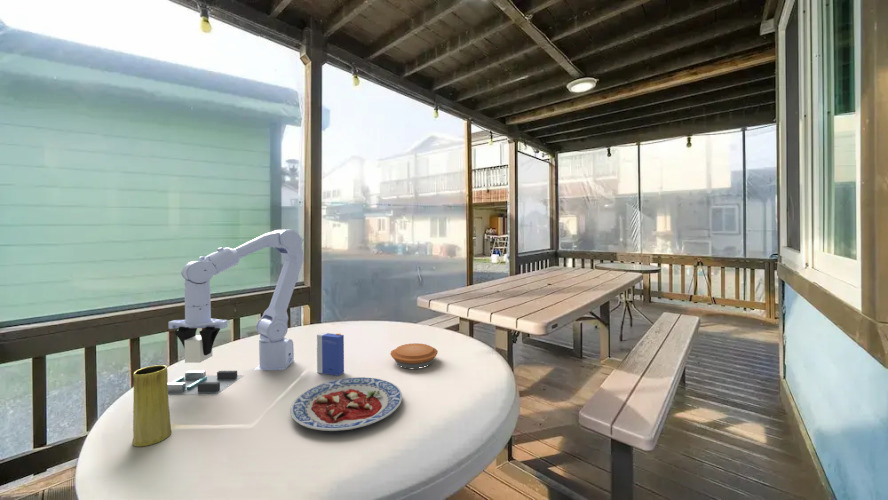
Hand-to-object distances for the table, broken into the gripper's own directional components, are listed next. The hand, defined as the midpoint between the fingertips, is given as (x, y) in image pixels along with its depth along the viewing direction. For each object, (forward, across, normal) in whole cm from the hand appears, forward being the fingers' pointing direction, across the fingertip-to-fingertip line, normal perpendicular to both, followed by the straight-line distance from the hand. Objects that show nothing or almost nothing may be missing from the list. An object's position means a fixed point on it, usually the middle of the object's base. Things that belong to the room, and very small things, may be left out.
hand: (198, 354), depth 92 cm
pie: (+9, +58, +16) cm, 61 cm away
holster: (+8, +5, 0) cm, 10 cm away
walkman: (+9, +33, +9) cm, 36 cm away
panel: (+9, +1, 0) cm, 9 cm away
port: (+8, -4, 0) cm, 9 cm away
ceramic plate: (+10, +44, -12) cm, 47 cm away
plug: (+1, 0, 0) cm, 1 cm away
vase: (+9, +7, -24) cm, 27 cm away
